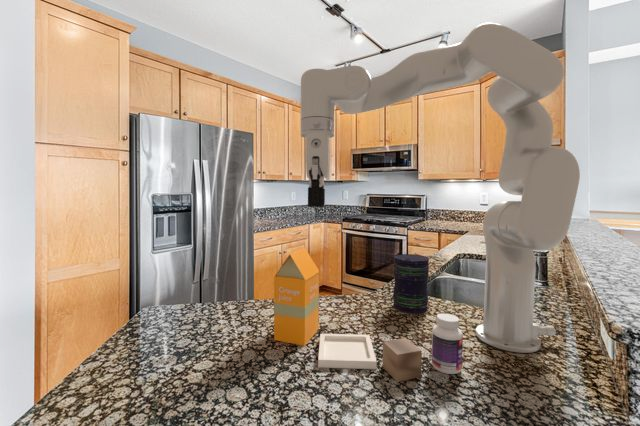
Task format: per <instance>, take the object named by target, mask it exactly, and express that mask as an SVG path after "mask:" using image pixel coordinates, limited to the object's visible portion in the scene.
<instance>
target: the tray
mask: <svg viewBox="0 0 640 426" xmlns="http://www.w3.org/2000/svg"><path fill="white" fill-rule="evenodd" d="M319 335H320V336H319V345H318V347H319V348H318V360H317V368H326V369H327V368H328V369H358V370H362V369H363V370H377V365H378V364H377V362H378V361H377V358H376V354H375V351H374V350H375V349H374V346H373V343H372V340H371V336H370V334H356V333H355V334H354V333H353V334H351V333H320V334H319Z"/></svg>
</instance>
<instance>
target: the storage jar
mask: <svg viewBox="0 0 640 426" xmlns="http://www.w3.org/2000/svg"><path fill="white" fill-rule="evenodd" d="M393 258H394V260H393V261H394V262H393V275H394V276H393V277H394V285H393V286H394V287H393V293H392V298H393V299H392V300H393V304H392V307H393V309H394V310H396V311H398V312H400V313H404V314H408V315H420V314H422V315H423V314H425V313H427V312H428V303H429V290H428V279H429V276H430V275H429V274H430V273H429V272H430V267H429V264H430V263H429V261H430V258H429V257H428V256H425V255H419V254H413V253H412V254H410V253H408V254H407V253H404V254H403V253H401V254H396V255H394V257H393Z"/></svg>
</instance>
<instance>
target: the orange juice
mask: <svg viewBox="0 0 640 426" xmlns="http://www.w3.org/2000/svg"><path fill="white" fill-rule="evenodd" d="M319 290H320V270H319V268H318V266H317V265H316V264H315V262H314V260H313V258H312V257H311V255H310V253H309V251H308V250H307V249H306V247H302V248H299V249H297V250H294V251H292V252H289V254H288V256H287V257H286V258H285V260H284V262H283V263H282V265H281V266H280V268H279V269H278V271H277V272H276V274H275V275H274V276H273V327H274V328H273V334H274V335H273V337H274V338H273V340H274V341H277V342H284V343H289V344H293V345H298V346H304V347H305V346H306V345H307V344H308V343H309V342H310V340H311V339H312V338H313V337H314V336H315V335H316V333H318V331H319V330H320V329H319V327H320V326H319V325H320V324H319V323H320V320H319V319H320V317H319V316H320V315H319V313H320V312H319V311H320V310H319V307H320V291H319ZM318 329H319V330H318ZM317 330H318V331H317Z"/></svg>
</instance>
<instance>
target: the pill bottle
mask: <svg viewBox="0 0 640 426" xmlns="http://www.w3.org/2000/svg"><path fill="white" fill-rule="evenodd" d="M435 320H436V324H435V325H434V326H433V327H432V330H431V332H432V333H431V366H432V367H433V368H434V369H435V370H436V371H439V373H443V374H447V375H455V374H457V375H458V374H460V373H461V372H462V370H463V369H462V368H463V345H464V344H463V342H464V334H463V332H462V330H461V329H460V328H459V327H460V318H459V317H458V316H457V315H455V314H450V313H438V314H437V315H436V319H435Z"/></svg>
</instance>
